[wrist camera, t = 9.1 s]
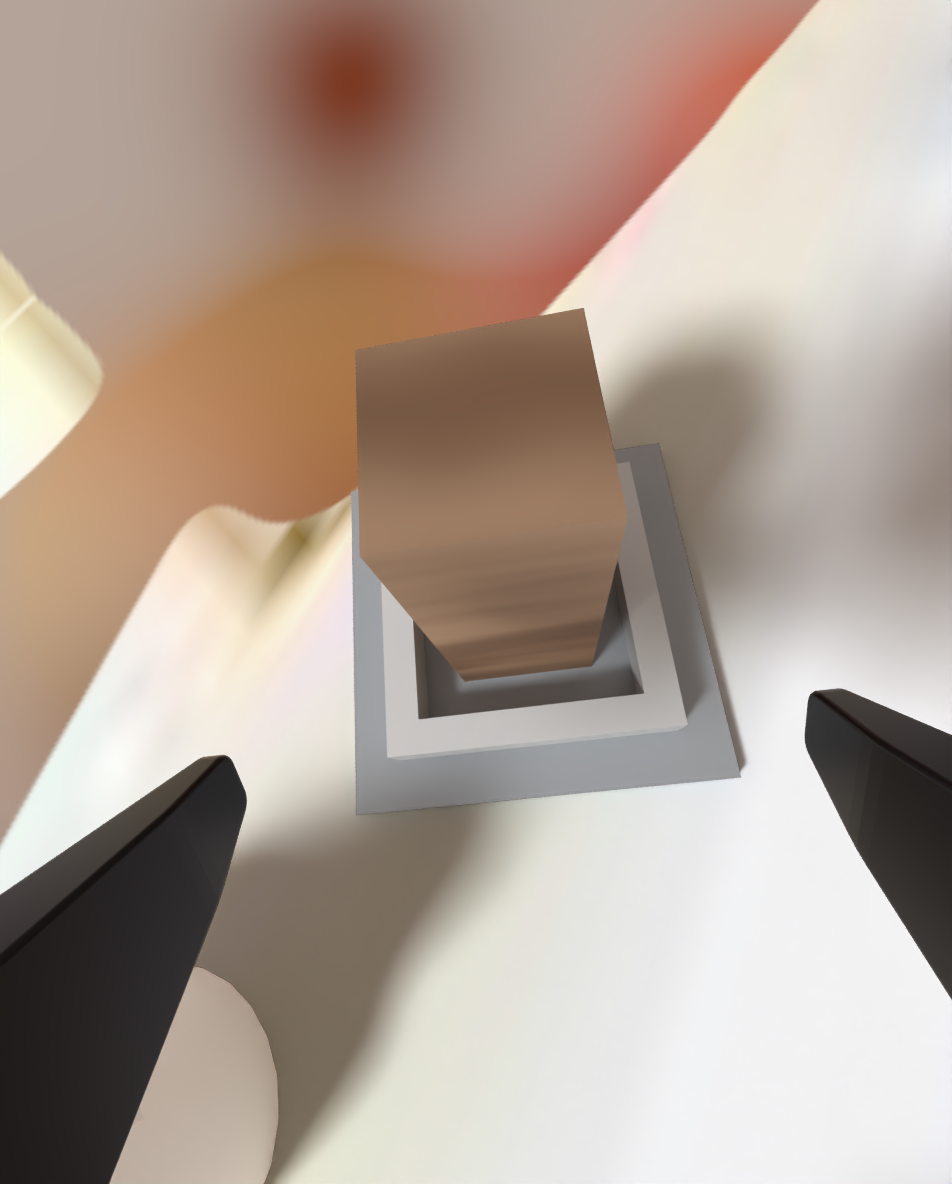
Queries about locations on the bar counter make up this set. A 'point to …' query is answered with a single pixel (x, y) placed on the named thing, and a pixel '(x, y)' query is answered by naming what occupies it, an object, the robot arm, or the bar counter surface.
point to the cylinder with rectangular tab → (206, 1096)
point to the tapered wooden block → (492, 491)
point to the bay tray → (547, 687)
